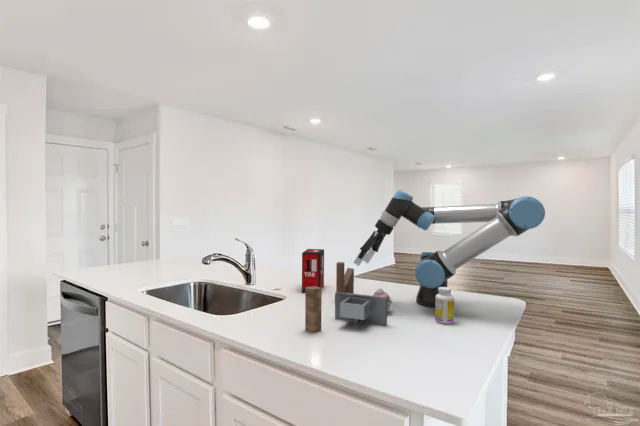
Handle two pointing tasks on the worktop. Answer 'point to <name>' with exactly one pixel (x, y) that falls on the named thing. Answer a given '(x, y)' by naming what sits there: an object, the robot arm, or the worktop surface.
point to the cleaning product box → (312, 268)
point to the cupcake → (383, 294)
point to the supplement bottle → (444, 306)
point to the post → (313, 309)
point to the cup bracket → (361, 308)
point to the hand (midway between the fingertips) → (360, 263)
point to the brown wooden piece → (344, 279)
